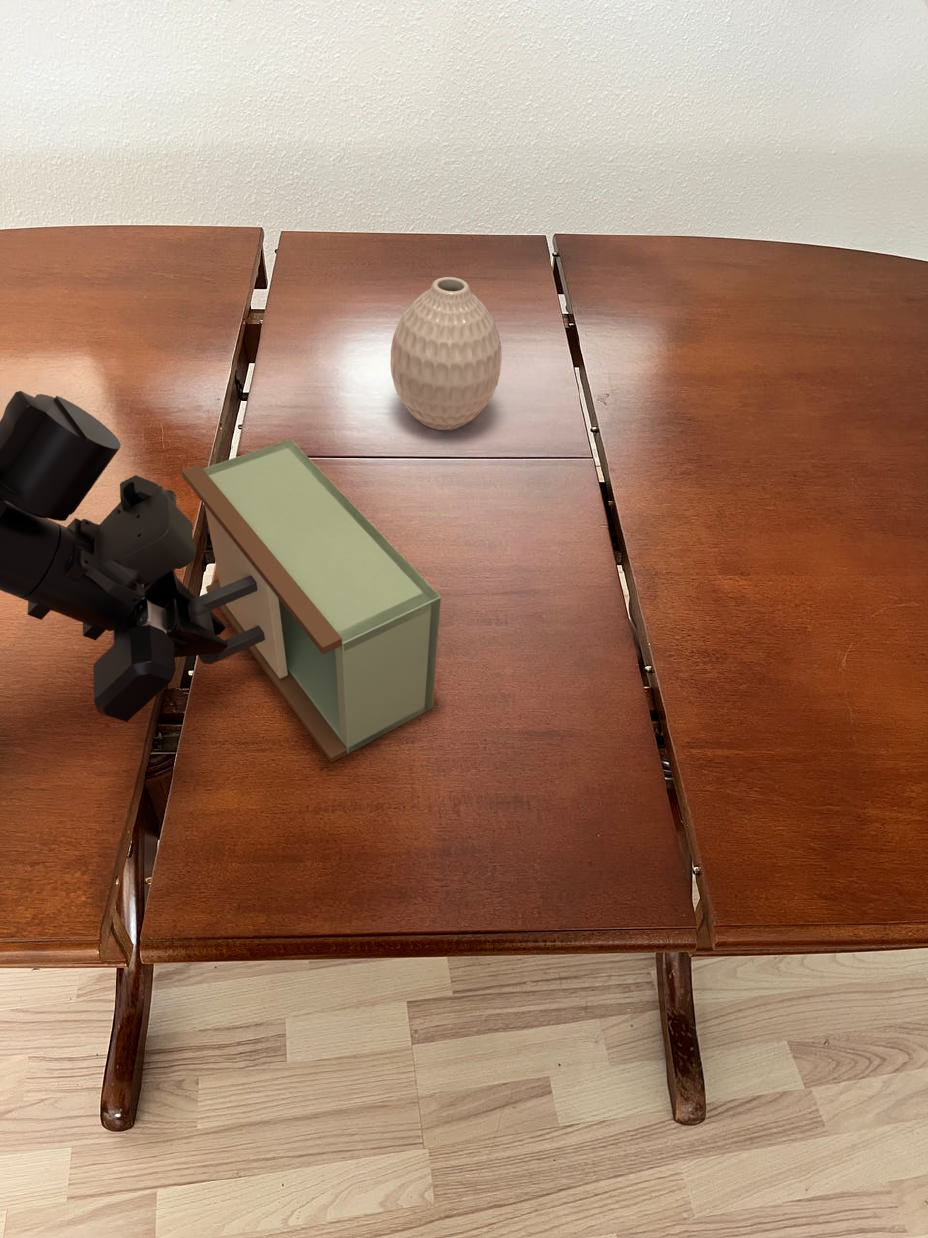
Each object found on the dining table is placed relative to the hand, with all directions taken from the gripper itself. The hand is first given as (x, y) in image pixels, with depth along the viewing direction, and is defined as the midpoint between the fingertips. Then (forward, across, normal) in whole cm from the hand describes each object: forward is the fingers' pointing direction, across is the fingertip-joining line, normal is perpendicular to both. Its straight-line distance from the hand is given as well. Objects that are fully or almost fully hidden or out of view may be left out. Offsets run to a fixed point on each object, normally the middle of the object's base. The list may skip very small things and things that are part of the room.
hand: (223, 639), depth 70 cm
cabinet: (+10, +3, -1) cm, 11 cm away
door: (+4, +4, +4) cm, 7 cm away
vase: (+25, +37, -16) cm, 47 cm away
